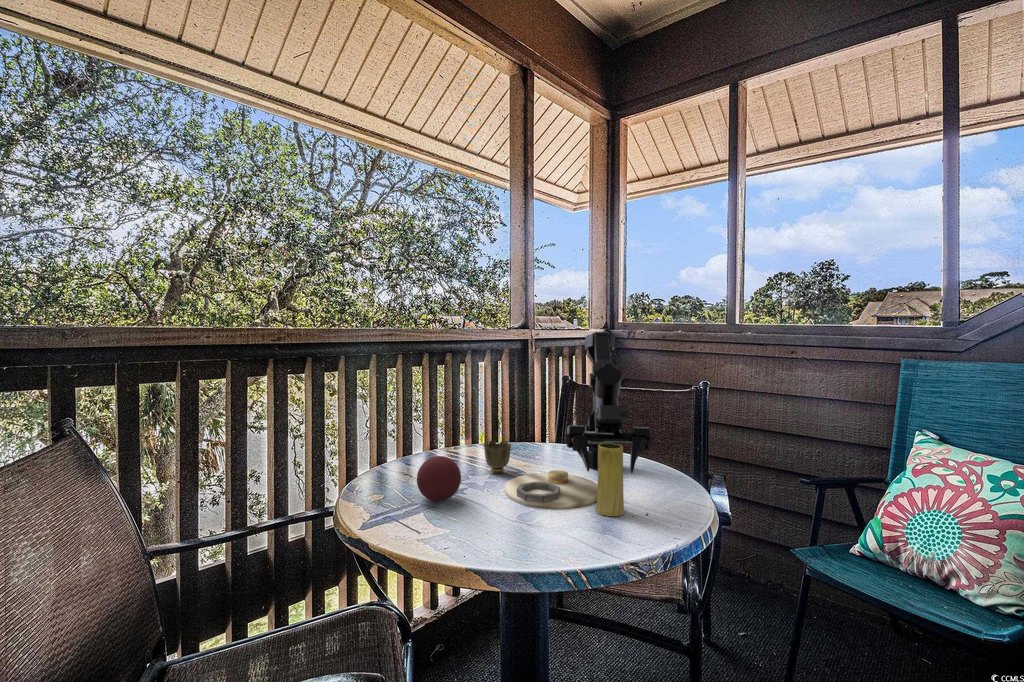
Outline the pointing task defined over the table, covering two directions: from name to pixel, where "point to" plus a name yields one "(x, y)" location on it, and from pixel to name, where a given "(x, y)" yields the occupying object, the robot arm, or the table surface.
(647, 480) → the table surface
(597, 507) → the vase
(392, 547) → the table surface
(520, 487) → the disc
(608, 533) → the table surface
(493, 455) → the cup
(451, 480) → the decorative ball
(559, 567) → the table surface
